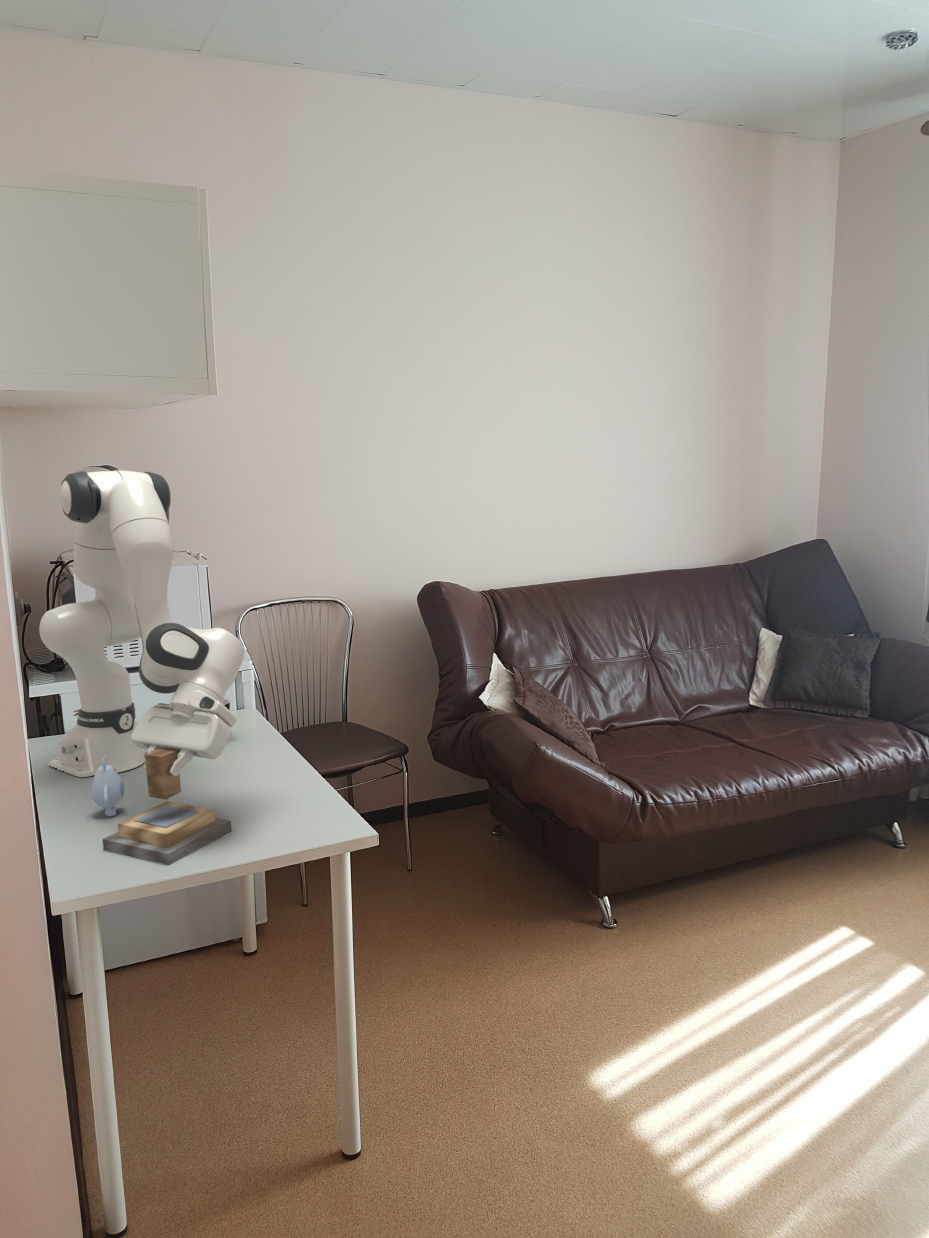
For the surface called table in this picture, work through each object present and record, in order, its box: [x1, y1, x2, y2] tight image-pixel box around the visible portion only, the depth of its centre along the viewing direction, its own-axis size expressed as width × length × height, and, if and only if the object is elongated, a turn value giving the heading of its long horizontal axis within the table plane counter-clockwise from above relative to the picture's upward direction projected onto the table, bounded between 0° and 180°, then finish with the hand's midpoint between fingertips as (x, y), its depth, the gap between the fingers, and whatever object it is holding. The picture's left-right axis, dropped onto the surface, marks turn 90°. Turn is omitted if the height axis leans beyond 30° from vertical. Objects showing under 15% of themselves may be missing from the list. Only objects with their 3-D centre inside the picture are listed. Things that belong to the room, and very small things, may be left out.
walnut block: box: [144, 748, 182, 800], centre depth 166 cm, size 4×4×8 cm
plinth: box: [102, 800, 232, 866], centre depth 168 cm, size 16×16×5 cm
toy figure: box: [90, 754, 125, 817], centre depth 182 cm, size 11×6×12 cm, turn 17°
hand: (160, 772), depth 166 cm, fingers closed on walnut block, 4 cm apart
